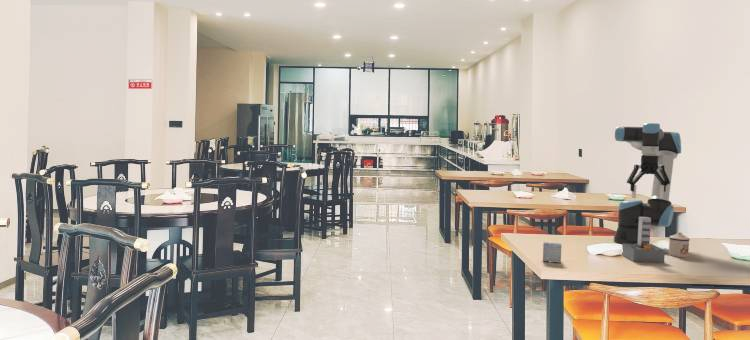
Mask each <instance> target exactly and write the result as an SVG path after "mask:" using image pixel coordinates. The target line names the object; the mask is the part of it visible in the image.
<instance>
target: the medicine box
mask: <svg viewBox="0 0 750 340" xmlns="http://www.w3.org/2000/svg"><path fill="white" fill-rule="evenodd" d="M543 261H551V262H550V263H553V262H560V263H559V264H561V261H562V242H555V241H554V242H553V241H544V242H543V248H542V262H543Z"/></svg>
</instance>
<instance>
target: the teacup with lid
mask: <svg viewBox="0 0 750 340" xmlns="http://www.w3.org/2000/svg"><path fill="white" fill-rule="evenodd" d="M668 239H669V241H668V255H669V256H671V257H674V258H675V257H677V258H688V257H689V251H690V248H689V247H690V246H689V245H690V237H688V236H685V235H684V234H683V233H682V232H681V231H678V232H676V233H675V234H673V235H670V236H669V237H668Z"/></svg>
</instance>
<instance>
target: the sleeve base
mask: <svg viewBox="0 0 750 340" xmlns="http://www.w3.org/2000/svg"><path fill="white" fill-rule="evenodd" d="M621 248H622V249H623V252H622V251H621V254H622V255H621V256H622V257H624V258H626V259H628V260H629V261H631V262H633V263H653V264H654V263H656V264H664V263H665V252H666V250H665V249H663V248H661V247H659V246H657V245H654V244H653V243H650V245H644V248H640V247H638V246H637V244H629V243H623V244H622V247H621ZM622 249H621V250H622Z"/></svg>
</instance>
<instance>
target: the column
mask: <svg viewBox="0 0 750 340" xmlns="http://www.w3.org/2000/svg"><path fill="white" fill-rule="evenodd" d="M650 242H651V218H649V217H639V225H638V242H637V246H638V247H640V248H644V245H650V244H651V243H650Z"/></svg>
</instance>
